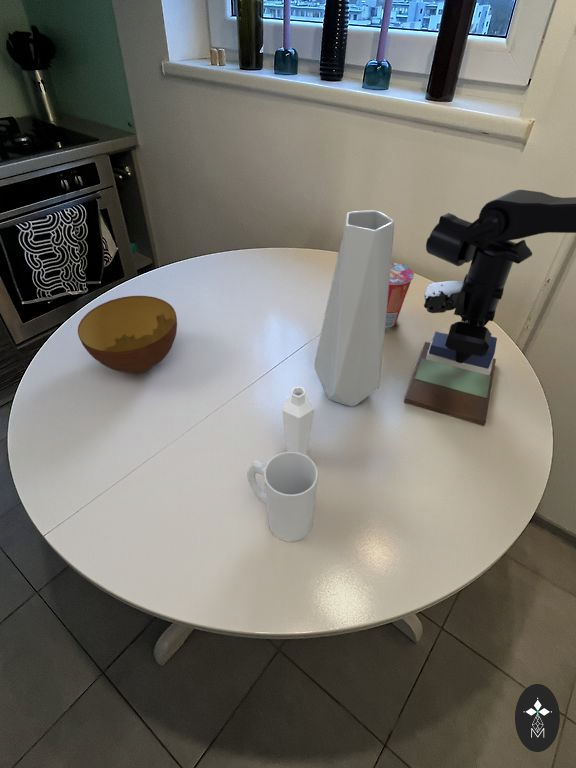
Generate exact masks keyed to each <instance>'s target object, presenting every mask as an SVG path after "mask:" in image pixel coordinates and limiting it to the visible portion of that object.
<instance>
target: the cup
mask: <svg viewBox="0 0 576 768" xmlns="http://www.w3.org/2000/svg"><path fill="white" fill-rule="evenodd" d="M414 277H415V273H414V271H413V270H412V269H411V268H409V267H408V266H407V265H404V264H401V263H397V262H396V263H395V262H391V269H390V280H389V291H388V302H387V312H386V323H385V329H387V328H392V327H395V325H396V324H397V321H398V318H399V316H400V314H401V313H400V312H401V310H402V307H403V305H404V301H405V298H406V296H407V293H408V290H409V288H410V285H411V283H412V281H413V280H414Z"/></svg>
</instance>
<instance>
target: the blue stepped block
mask: <svg viewBox="0 0 576 768" xmlns="http://www.w3.org/2000/svg"><path fill="white" fill-rule="evenodd" d="M448 334H449V333H444V332H439V331H435V332H434V335H433V337H432V339H431V342H430V343H431V344H430V347H429V350H428V353H427V357H426V360H430V361H434V362H438V363H442V364H446V365H450V366H454V367H458V368H462V369H466V370H470V371H473V372H477V373H481V374H485V375H490V372H491V368H492V362H493V358H494V356H495V353H496V347H497V342H498V337H496V336H493V335H491V340H490V345H489V348H488V351H487V353H486V356H482V357H480V356H476V355H472V356H470V357H469V358H468V359H467V360H466V361H464V362H463V363H458V362H456V350H452V349H448V348H447V347H446V346H445V344H446V340H447V337H448Z"/></svg>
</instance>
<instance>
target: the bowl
mask: <svg viewBox="0 0 576 768" xmlns="http://www.w3.org/2000/svg"><path fill="white" fill-rule="evenodd" d="M177 331H178V318H177V313H176V309H175V308H174V307H173V306H172V305H171V304H170V303H169V302H167V301H166V300H164V299H162V298H158V297H155V296H149V295H128V296H122V297H117V298H114V299H111V300H108V301H105V302H103V303H101V304H99V305H97V306H96V307H94V308H93V309H90V311H88V312H87V313H86V314H85V315H84V316H83V317H82V318H81V320H80V322H79V324H78V327H77V335H78V338H79V340H80V342H81V345H82V346H83V347H84V349H85V350H86V351H87V353H88V354H89V355H90V356H91V357H92V358H93V359H95V360H96V361H97V362H99V364H101V365H103V366H105V367H107V368H108V369H111V370H114V371H117V372H123V373H134V374H139V373H144V372H146V371H148V370H150V369H152V368H153V367H155V366H157V365H158V364H159V363H160V362H162V361H163V360H164V359H165V358H166V357H167V356H168V354H169V352H170V351H171V349H172V347H173V345H174V342H175V340H176V337H177Z"/></svg>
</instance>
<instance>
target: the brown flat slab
mask: <svg viewBox="0 0 576 768" xmlns="http://www.w3.org/2000/svg"><path fill="white" fill-rule="evenodd" d="M430 344H431V342H430V341H429V342H428V341H424V343H423V346H422V348H421V351H420V354H419V357H418V361H417V362H416V366H415V369H414V372H413V374H412V377H411V380H410V383H409V386H408V389H407V392H406V394H405V397H404V401H403V403H404V404H407V405H411V406H414V407H417V408H421V409H425V410H428V411H431V412H435V413H438V414H441V415H445V416H448V417H452V418H455V419H459V420H462V421H466V422H469V423H473V424H475V425H480V426H484V427H485V425H486V423H487V420H488V419H487V418H488V413H489V405H490V400H491V393H492V388H493V381H494V375H495V369H496V362H497V358H494V357H493V362H492V368H491V372H490V375H485V374H481V373H477V372H473V371H470V370H466V369H462V368H458V367H454V366H450V365H446V364H442V363H438V362H434V361H430V360H426V357H427V353H428V350H429V347H430Z"/></svg>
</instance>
